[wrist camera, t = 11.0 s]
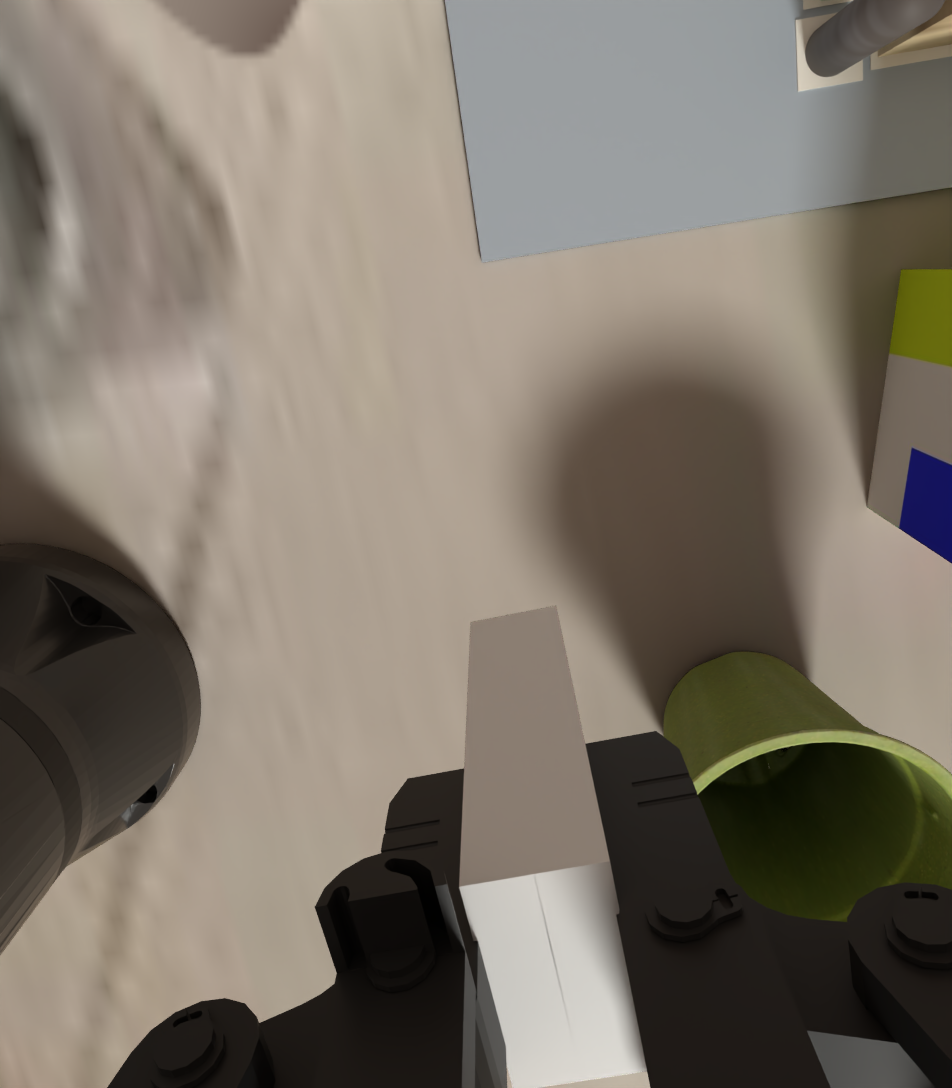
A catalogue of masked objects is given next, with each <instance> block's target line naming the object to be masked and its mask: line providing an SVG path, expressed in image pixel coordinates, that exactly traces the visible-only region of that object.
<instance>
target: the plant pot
mask: <svg viewBox="0 0 952 1088" xmlns="http://www.w3.org/2000/svg"><path fill="white" fill-rule="evenodd" d="M664 737H665V738H666V739H667V740H669V741H670V742H671V743H672V744H674V745H675V746H676V747H678V748H679V749H680V752H681V754H682V757H683V759H684V761H685V764H686V766H687V769H688V771H689V775H690V777H691V779H692V781H693V784H694V786H695V789H696V791H697V795H698V797H699V799H700V801H701V803H702V806H703V808H704V811H705V813H706V816H707V818H708V821H709V823H710V826H711V828H712V831H713V833H714V836H715V838H716V840H717V843H718V845H719V848H720V850H721V853H722V855H723V858H724V860H725V863H726V865H727V868H728V870H729V873H730V874H731V876H732V878H733V879H734V881H735V883H736V884H738V885H740V886H741V887H742V888H743V890H744V891H745V893H746V894H747V895H748V896H749V897H750V898H752V899H753V900H755V901H757V902H758V903H760V904H762V905H763V906H765V907H767V908H769V909H772V910H775V911H778V912H781V913H783V914H786V915H791V916H797V917H802V918H808V919H818V920H829V921H840V922H847V917H848V915H849V913H850V912H851V910H852V908H853V907H854V905H855V903H856V902H857V900H858V899H860V898H861V897H863V896H865V895H866V894H868V893H870V892H871V891H873V890H875V889H876V888H879V887H884V886H889V885H894V884H899V883H904V882H907V883H921V884H935V885H939V886H942V887H945V888H948V889H951V890H952V774H951V773H950V772H949V771H948V770H947V769H946V768H944V767H943V766H942V765H941V764H939V763H938V762H937V761H935V760H934V759H933V758H931V757H930V756H928V755H927V754H925V753H923V752H922V751H920V750H918V749H916V748H914V747H912V746H910V745H908V744H906V743H904V742H902V741H899V740H896V739H894V738H891V737H888V736H884V735H881V734H878V733H877V732H875V731H873V730H871V729H869V728H867V727H865V726H863V725H862V724H861V723H860V722H858V721H857V720H856V719H855V718H854V717H853V716H851V715H850V714H849V713H848V712H846V711H845V710H844V709H843V708H842V707H840V706H839V705H838V704H837V703H835V702H834V701H833V700H832V699H831V698H829V697H828V696H827V695H826V694H825V693H824V692H822V691H821V690H820V689H819V688H818V687H816V686H815V685H814V684H813V683H812V682H810V681H809V680H808V679H807V678H806V677H804V676H803V675H802V674H801V673H800V672H798V671H797V670H796V669H794V668H793V667H792V666H790V665H789V664H787V663H786V662H784V661H782V660H780V659H778V658H776V657H774V656H771V655H767V654H763V653H756V652H733V653H728V654H725V655H724V656H721V657H718V658H716V659H713V660H711V661H708V662H706V663H703V664H701V665H698V666H696V667H694V668H693V669H692V670H690V671H689V672H688V673H687V674H686V675H685V676H684V677H683V678H682V679H681V680H680V681H679V683H678V684H677V685H676V686H675V688H674V689H673V691H672V693H671V695H670V697H669V699H668V702H667V705H666V708H665V713H664ZM789 746H790V747H789ZM784 747H789V749H787V750H786V751H782V750H781V749H780V748H784ZM768 763H769V765H768Z"/></svg>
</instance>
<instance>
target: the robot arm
mask: <svg viewBox="0 0 952 1088" xmlns="http://www.w3.org/2000/svg"><path fill="white" fill-rule="evenodd" d="M200 716H201V698H200V689H199V682H198V678H197V674H196V670H195V667H194V664H193V661H192V658H191V656H190V653H189V651H188V649H187V647H186V645H185V643H184V641H183V639H182V637H181V636H180V634H179V632H178V631H177V629H176V628H175V626H174V625H173V623H172V622H171V620H170V619H169V618H168V617H167V615H166V614H165V613H164V611H163V610H162V609H161V608H160V607H159V606H158V605H157V604H156V603H155V602H154V601H153V600H152V599H151V598H150V597H149V596H148V595H147V594H146V593H145V592H144V591H143V590H141V589H140V588H139V587H138V586H137V585H135V584H134V583H133V582H131V581H130V580H129V579H127V578H126V577H124V576H123V575H121V574H120V573H118V572H117V571H115V570H113V569H111V568H110V567H108V566H106V565H104V564H102V563H100V562H98V561H96V560H94V559H91V558H89V557H86V556H84V555H81V554H78V553H75V552H72V551H68V550H65V549H61V548H56V547H51V546H45V545H36V544H6V545H0V955H1V954H2V952H3V951H4V950H5V948H6V947H7V946H8V944H9V943H10V942H11V940H12V939H13V938H14V936H15V935H16V933H17V932H18V931H19V929H20V928H21V927H22V925H23V924H24V923H25V921H26V920H27V919H28V917H29V916H30V915H31V913H32V912H33V910H34V909H35V908H36V906H37V905H38V904H39V902H40V901H41V900H42V898H43V897H44V896H45V894H46V893H47V891H48V890H49V888H50V887H51V886H52V884H53V883H54V882H55V880H56V879H57V878H58V876H59V875H60V874H61V872H62V871H63V870H64V869H65V867H67V866H68V865H70V864H71V863H73V862H75V861H76V860H78V859H79V858H81V857H83V856H84V855H86V854H87V853H89V852H91V851H92V850H94V849H95V848H97V847H98V846H100V845H102V844H103V843H105V842H106V841H108V840H110V839H111V838H113V837H114V836H116V835H118V834H119V833H121V832H122V831H124V830H126V829H127V828H129V827H130V826H132V825H133V824H135V823H136V822H138V821H139V820H140V819H141V818H143V817H144V816H145V815H146V814H147V813H148V812H149V811H150V810H152V809H153V808H154V807H155V806H156V805H157V804H158V802H159V801H160V800H161V799H162V798H163V797H164V795H165V794H166V793H167V791H168V790H169V788H170V787H171V785H172V784H173V782H174V781H175V779H176V778H177V776H178V775H179V773H180V772H181V770H182V769H183V767H184V765H185V764H186V762H187V760H188V758H189V756H190V754H191V752H192V750H193V747H194V745H195V742H196V738H197V735H198V730H199V725H200ZM385 833H386V834H384V837H383V842H382V848H381V852H382V853H381V854H377V855H374V856H371V857H367V858H364V859H362V860H361V861H359V862H357V863H355V864H354V865H352V866H350V867H348V868H347V869H345V870H343V871H342V872H341V873H340V874H339V875H338V876H336V877H335V878H334V879H333V880H332V881H331V882H330V883H329V884H328V885H327V886H326V887H325V888H324V890H323V892H322V894H321V896H320V898H319V900H318V902H317V904H316V906H315V909H316V912H317V915H318V918H319V921H320V924H321V927H322V930H323V933H324V936H325V939H326V942H327V945H328V948H329V951H330V954H331V957H332V960H333V963H334V966H335V969H336V972H337V975H336V980H335V984H334V985H332V986H331V987H330V988H328V989H327V990H326V991H325V992H323V993H322V994H321V995H319V996H317V997H315V998H313V999H311V1000H309V1001H308V1002H306V1003H304V1004H302V1005H300V1006H297V1007H295V1008H293V1009H291V1010H288V1011H286V1012H284V1013H282V1014H279V1015H277V1016H275V1017H272V1018H270V1019H268V1020H266V1021H263V1022H261V1023H259V1022H258V1019H257V1017H256V1016H255V1014H254V1013H253V1012H252V1011H251V1010H250V1009H249V1008H248V1007H247V1006H246V1004H245V1003H241V1002H237V1001H233V1000H230V999H226V998H224V999H216V1000H209V1001H201V1002H199V1003H197V1004H194V1005H192V1006H190V1007H187V1008H185V1009H182V1010H180V1011H178V1012H175V1013H174V1014H173V1015H171V1016H170V1017H169V1018H167V1019H166V1020H164V1021H163V1022H162V1023H160V1024H159V1025H158V1026H156V1027H155V1028H153V1029H152V1030H151V1031H150V1032H149V1033H148V1034H147V1035H146V1037H145V1038H144V1039H143V1040H142V1041H141V1042H140V1043H139V1045H138V1046H137V1047H136V1048H135V1049H134V1050H133V1051H132V1052H131V1054H130V1055H129V1057H128V1058H127V1060H126V1061H125V1063H124V1064H123V1065H122V1067H121V1068H120V1070H119V1071H118V1073H117V1074H116V1076H115V1077H114V1079H113V1080H112V1082H111V1083H110V1084H109V1086H108V1087H107V1088H507V1068H508V1072H509V1076H510V1079H511V1083H512V1087H513V1088H540V1087H546V1086H553V1085H560V1084H566V1083H573V1082H580V1081H586V1080H593V1079H599V1078H606V1077H613V1076H619V1075H626V1074H633V1073H639V1072H646V1071H647V1072H648V1077H649V1082H650V1087H651V1088H952V890H951V889H948V888H945V887H942V886H939V885H935V884H921V883H907V882H904V883H899V884H894V885H889V886H884V887H879V888H876V889H875V890H873V891H871V892H870V893H868V894H866V895H865V896H863V897H861V898H860V899H858V900H857V902H856V903H855V905H854V907H853V908H852V910H851V912H850V913H849V915H848V917H847V922H840V921H829V920H818V919H808V918H802V917H797V916H791V915H786V914H783V913H781V912H778V911H775V910H772V909H769V908H767V907H765V906H763V905H762V904H760V903H758V902H757V901H755V900H753V899H752V898H750V897H749V896H748V895H747V894H746V893H745V891H744V890H743V888H742V887H741V886H740V885H738V884H736V883H735V881H734V879H733V878H732V876H731V874H730V873H729V870H728V868H727V865H726V863H725V860H724V858H723V855H722V853H721V850H720V848H719V845H718V843H717V840H716V838H715V836H714V833H713V831H712V828H711V826H710V823H709V821H708V818H707V816H706V813H705V811H704V808H703V806H702V803H701V801H700V799H699V797H698V795H697V791H696V789H695V786H694V784H693V781H692V779H691V777H690V775H689V771H688V769H687V766H686V764H685V761H684V759H683V757H682V754H681V752H680V749H679V748H678V747H676V746H675V745H674V744H672V743H671V742H670V741H669V740H667V739H666V738H665V737H663V736H662V735H661V734H659V733H658V732H657V731H654V732H648V733H643V734H637V735H632V736H626V737H621V738H615V739H610V740H604V741H599V742H593V743H588V744H585V740H584V736H583V731H582V726H581V721H580V717H579V712H578V707H577V702H576V698H575V693H574V688H573V683H572V679H571V674H570V669H569V664H568V660H567V655H566V650H565V645H564V641H563V636H562V631H561V626H560V622H559V617H558V612H557V607H556V606H552V607H546V608H541V609H536V610H531V611H526V612H521V613H516V614H510V615H505V616H500V617H495V618H490V619H485V620H480V621H474V622H470V645H469V669H468V692H467V715H466V739H465V762H464V769H459V770H453V771H448V772H442V773H437V774H431V775H426V776H420V777H415V778H409V779H407V781H406V782H405V783H404V785H403V786H402V787H401V789H400V790H399V791H398V793H397V794H396V795H395V797H394V798H393V799H392V801H391V802H390V804H389V809H388V815H387V820H386V826H385ZM506 1064H507V1068H506Z"/></svg>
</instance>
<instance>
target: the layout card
mask: <svg viewBox="0 0 952 1088" xmlns="http://www.w3.org/2000/svg"><path fill="white" fill-rule="evenodd" d="M852 1H853V0H827V1H821V0H445V5H446V12H447V20H448V27H449V34H450V41H451V48H452V55H453V62H454V69H455V76H456V83H457V90H458V97H459V104H460V111H461V118H462V125H463V132H464V140H465V147H466V154H467V161H468V168H469V175H470V182H471V189H472V196H473V203H474V210H475V217H476V224H477V231H478V238H479V245H480V253H481V260H482V262H489V261H495V260H501V259H507V258H514V257H520V256H526V255H532V254H539V253H545V252H551V251H557V250H564V249H570V248H576V247H582V246H589V245H595V244H601V243H607V242H614V241H620V240H626V239H632V238H639V237H645V236H651V235H657V234H664V233H670V232H676V231H682V230H689V229H695V228H701V227H707V226H714V225H720V224H726V223H732V222H739V221H745V220H751V219H757V218H764V217H770V216H776V215H782V214H789V213H795V212H801V211H807V210H814V209H820V208H826V207H832V206H839V205H845V204H851V203H857V202H864V201H870V200H876V199H882V198H889V197H895V196H901V195H907V194H914V193H920V192H926V191H932V190H939V189H945V188H951V187H952V44H950V45H944V46H939V47H933V48H927V49H921V50H916V51H910V52H904V53H898V54H892V55H887V56H881V57H878V51H876V52H874V53H873V54H871V55H869V56H868V57H866V58H864V59H863V60H861V61H859V62H858V63H856V64H854V65H853V66H851V67H849V68H848V69H846V70H844V71H843V72H841V73H839V74H837V75H835V76H832V77H821V76H818V75H816V74H815V73H813V72H812V71H811V70H810V68H809V67H808V65H807V62H806V57H805V50H806V45H807V42H808V40H809V38H810V36H811V35H812V34H813V32H814V31H815V30H816V29H818V28H819V27H820V26H821V25H823V24H824V23H825V22H826V21H828V20H829V19H830V18H832V17H833V16H834V15H835V14H837V13H838V12H839V11H840V10H842V9H843V8H844V7H846V6H847V5H848V4H849V3H851V2H852Z"/></svg>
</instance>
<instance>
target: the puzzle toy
mask: <svg viewBox="0 0 952 1088" xmlns="http://www.w3.org/2000/svg"><path fill="white" fill-rule="evenodd" d="M867 508H869V509H870V510H872V511H873V512H875V513H876V514H878V515H879V516H881V517H882V518H884V519H885V520H887V521H889V522H890V523H892V524H893V525H895V526H896V527H898V528H899V529H901V530H902V531H904V532H905V533H907V534H908V535H910V536H911V537H913V538H914V539H916V540H917V541H919V542H920V543H922V544H923V545H925V546H926V547H928V548H929V549H931V550H932V551H934V552H935V553H937V554H938V555H940V556H941V557H943V558H944V559H946V560H947V561H949V562H950V563H952V269H901V275H900V282H899V288H898V295H897V302H896V309H895V316H894V323H893V330H892V337H891V344H890V351H889V358H888V364H887V371H886V378H885V385H884V392H883V399H882V406H881V413H880V420H879V427H878V434H877V440H876V447H875V454H874V461H873V468H872V475H871V482H870V489H869V496H868V503H867Z"/></svg>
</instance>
